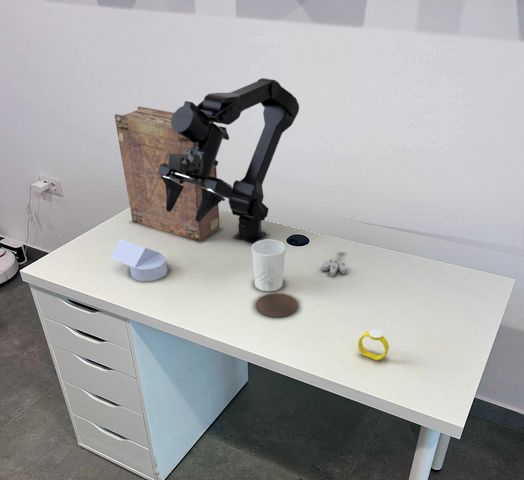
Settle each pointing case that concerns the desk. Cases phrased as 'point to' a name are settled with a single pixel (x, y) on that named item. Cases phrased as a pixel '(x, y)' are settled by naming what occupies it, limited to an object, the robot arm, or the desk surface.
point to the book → (149, 182)
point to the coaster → (276, 305)
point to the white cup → (268, 264)
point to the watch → (374, 335)
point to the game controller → (334, 266)
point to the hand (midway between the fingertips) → (182, 216)
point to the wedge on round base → (140, 261)
